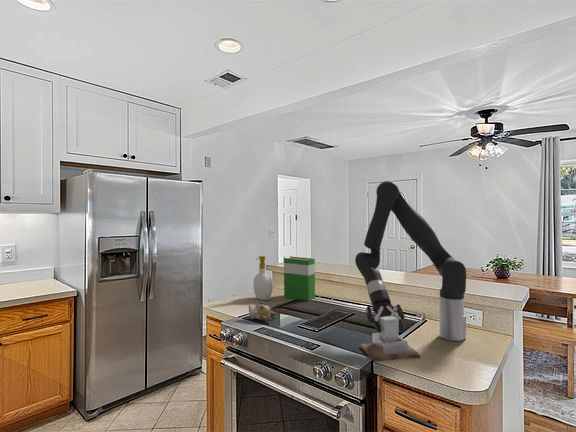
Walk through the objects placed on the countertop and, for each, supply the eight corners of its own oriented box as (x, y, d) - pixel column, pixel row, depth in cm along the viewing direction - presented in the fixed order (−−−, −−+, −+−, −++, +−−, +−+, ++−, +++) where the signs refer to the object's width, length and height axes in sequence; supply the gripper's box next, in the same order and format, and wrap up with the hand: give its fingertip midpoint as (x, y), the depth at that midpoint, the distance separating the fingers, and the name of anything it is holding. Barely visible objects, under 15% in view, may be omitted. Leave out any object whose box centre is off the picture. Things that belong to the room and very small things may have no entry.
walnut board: (403, 343, 141) (403, 340, 141) (420, 357, 128) (420, 354, 128) (360, 346, 138) (360, 344, 138) (373, 361, 125) (373, 358, 125)
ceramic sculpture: (253, 298, 180) (280, 302, 175) (252, 314, 180) (279, 318, 176) (244, 304, 170) (273, 308, 165) (243, 321, 170) (272, 326, 166)
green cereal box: (284, 296, 215) (283, 258, 214) (291, 294, 221) (290, 256, 220) (308, 301, 205) (308, 260, 204) (315, 298, 211) (314, 258, 210)
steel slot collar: (394, 342, 139) (394, 331, 139) (407, 353, 129) (407, 341, 129) (372, 344, 138) (372, 333, 137) (383, 355, 127) (383, 343, 127)
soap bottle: (248, 298, 212) (248, 255, 211) (259, 295, 218) (259, 254, 217) (265, 302, 202) (264, 258, 201) (276, 299, 208) (275, 256, 207)
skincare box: (384, 351, 131) (384, 320, 130) (378, 347, 135) (378, 316, 134) (399, 349, 132) (399, 318, 132) (392, 345, 136) (392, 315, 136)
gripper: (363, 289, 139) (375, 328, 128) (397, 287, 141) (411, 325, 130) (359, 299, 144) (370, 337, 133) (391, 297, 146) (404, 334, 136)
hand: (390, 331), depth 132 cm, fingers open, 8 cm apart
